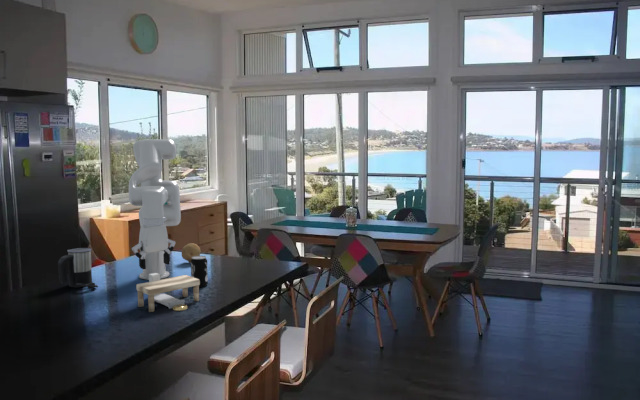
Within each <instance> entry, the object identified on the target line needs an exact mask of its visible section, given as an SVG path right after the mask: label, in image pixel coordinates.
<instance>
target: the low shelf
mask: <svg viewBox="0 0 640 400" xmlns="http://www.w3.org/2000/svg"><path fill="white" fill-rule="evenodd" d="M199 285H200V280H199V279H196V278H194V277H191V275H187V274H183V275H177V276H173V277H166V278H162V279H160V280H157V281H152V282H149V281H148V282H142V283H137V284H135V286H136V288H135V289H136V291H137V307H138V308H142V307H145V302H144V301H145V300H144V297H145V296H144V294H145V295H147V300H148V301H147V303H148V308H147V309H148V313H154V312H156V311H155V301H154V295H155V294H160V293H161V294H165V293H168V292H172V291H177V290H182V297H183V298H185V297H186V298H187V297H188V295H189V288H192V287H193V288H192V289H193V290H192V291H193V301H194V302H199V301H200V288H199Z"/></svg>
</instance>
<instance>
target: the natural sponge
mask: <svg viewBox="0 0 640 400" xmlns="http://www.w3.org/2000/svg"><path fill="white" fill-rule="evenodd" d="M201 253H202V252H201V247H200V246H199V244H196V243H192V242H190V243H187V244H185V245H184V246H183V247H182V248H181V258H182V259H184V261H187V262H188V263H189V264H191V260H192V257H194V256H201Z"/></svg>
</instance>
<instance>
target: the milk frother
mask: <svg viewBox="0 0 640 400" xmlns="http://www.w3.org/2000/svg"><path fill="white" fill-rule="evenodd" d="M91 252H92V248H90V247H77V248H72V249H67V253H68V254H65V255H63V256H61V257H60V258H59V259H58V261H57V269H58V270H57V271H58V279H59V283H61V284H67V282H68V286H69V287H70V288H88V289H90V290H95V288H98V287H99V286H98V284H96V283H95V282H93V276H92V253H91ZM67 263H68V264H67ZM66 264H67V265H68V277H67V266H66Z"/></svg>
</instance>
